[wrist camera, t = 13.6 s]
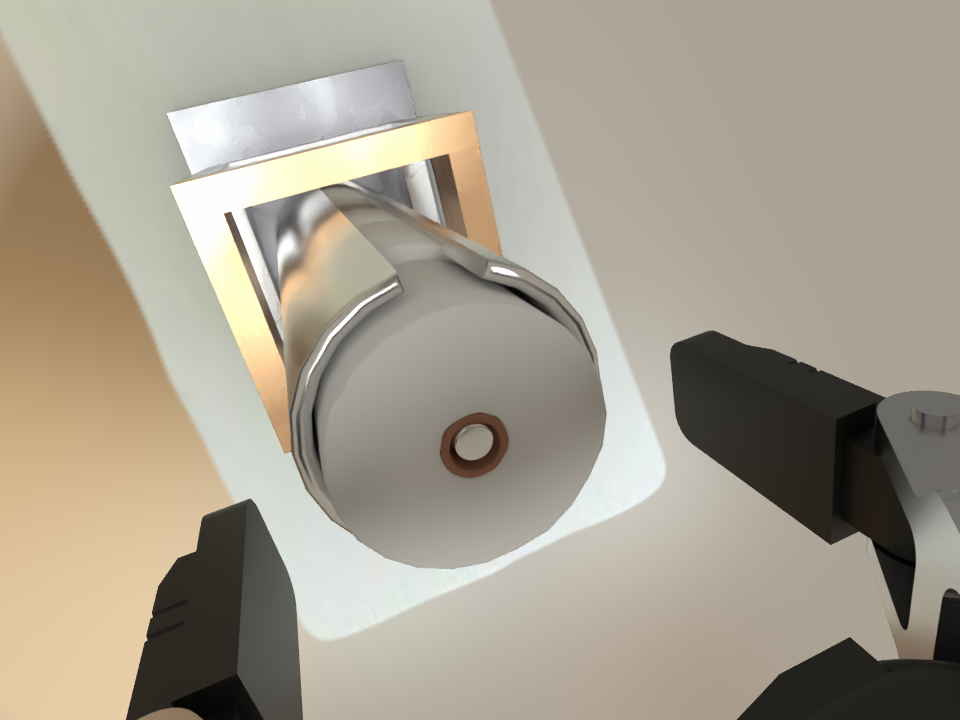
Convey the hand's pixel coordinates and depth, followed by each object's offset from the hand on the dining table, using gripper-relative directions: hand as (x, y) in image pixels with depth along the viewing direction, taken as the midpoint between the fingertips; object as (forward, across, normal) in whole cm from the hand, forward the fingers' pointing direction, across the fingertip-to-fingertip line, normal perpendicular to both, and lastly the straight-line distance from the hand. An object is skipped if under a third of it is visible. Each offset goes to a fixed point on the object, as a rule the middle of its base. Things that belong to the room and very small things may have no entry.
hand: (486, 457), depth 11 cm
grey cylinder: (+26, 0, 0) cm, 26 cm away
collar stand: (+26, 0, 0) cm, 26 cm away
